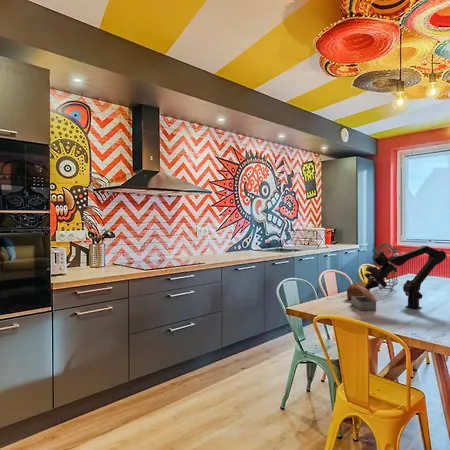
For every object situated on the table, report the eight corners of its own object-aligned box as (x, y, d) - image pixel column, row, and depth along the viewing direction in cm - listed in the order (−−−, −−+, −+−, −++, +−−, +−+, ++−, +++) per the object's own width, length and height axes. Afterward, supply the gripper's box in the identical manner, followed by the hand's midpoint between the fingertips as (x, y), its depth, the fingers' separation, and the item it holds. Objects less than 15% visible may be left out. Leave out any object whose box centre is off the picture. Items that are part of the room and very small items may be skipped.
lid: (365, 296, 212) (367, 295, 212) (376, 302, 198) (377, 300, 198) (356, 285, 212) (357, 284, 212) (365, 290, 198) (367, 289, 198)
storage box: (365, 304, 212) (365, 296, 212) (376, 310, 198) (376, 302, 198) (351, 304, 212) (351, 296, 212) (360, 310, 198) (360, 302, 198)
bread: (354, 294, 240) (354, 280, 240) (370, 296, 234) (370, 282, 234) (346, 299, 225) (346, 284, 225) (363, 302, 219) (363, 286, 219)
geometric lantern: (394, 293, 245) (393, 243, 244) (371, 290, 255) (370, 243, 254) (400, 289, 257) (399, 242, 256) (378, 287, 267) (377, 241, 266)
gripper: (368, 259, 214) (349, 276, 214) (382, 263, 195) (362, 282, 196) (380, 272, 214) (361, 290, 215) (395, 278, 196) (375, 297, 196)
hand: (364, 289), depth 205 cm, fingers closed, pressing on lid
